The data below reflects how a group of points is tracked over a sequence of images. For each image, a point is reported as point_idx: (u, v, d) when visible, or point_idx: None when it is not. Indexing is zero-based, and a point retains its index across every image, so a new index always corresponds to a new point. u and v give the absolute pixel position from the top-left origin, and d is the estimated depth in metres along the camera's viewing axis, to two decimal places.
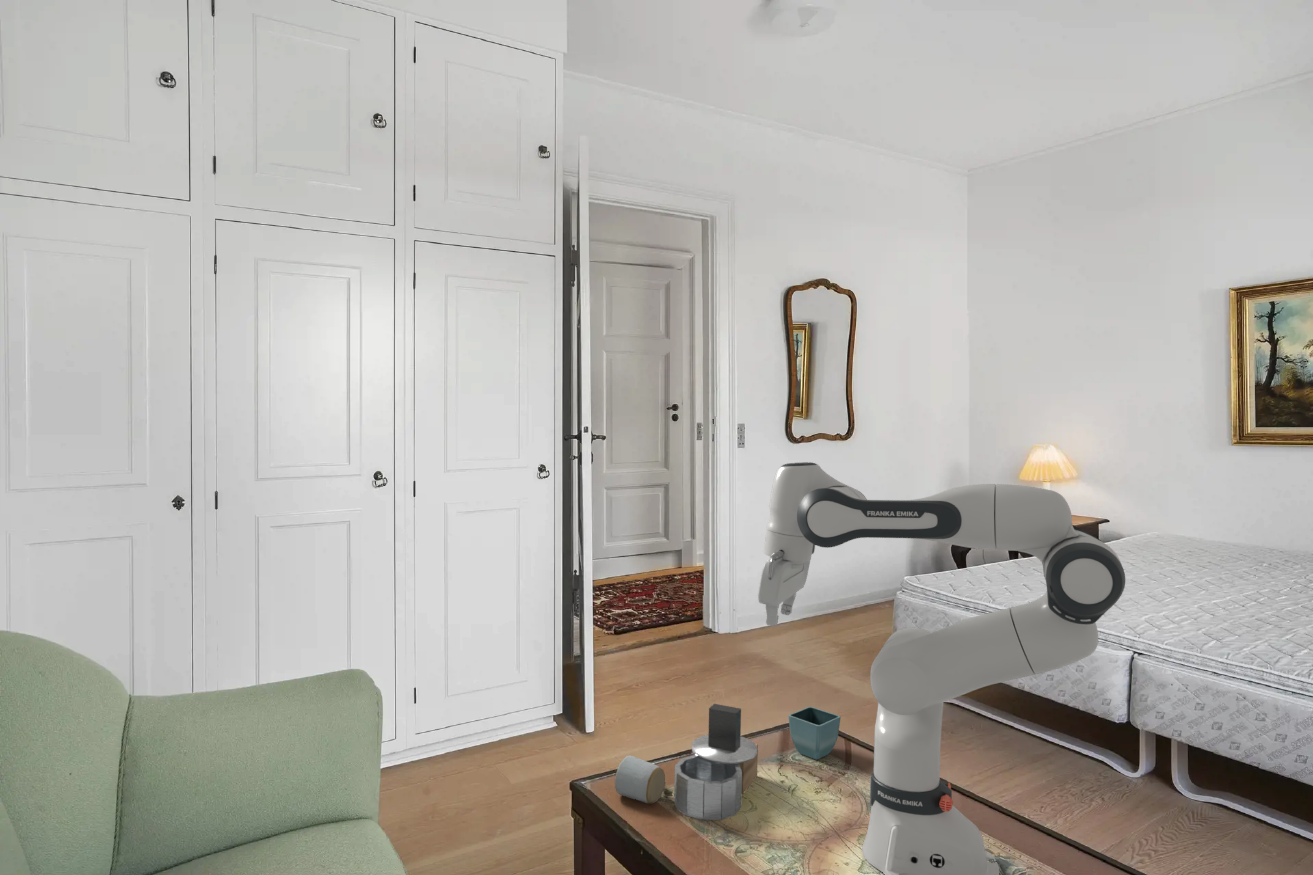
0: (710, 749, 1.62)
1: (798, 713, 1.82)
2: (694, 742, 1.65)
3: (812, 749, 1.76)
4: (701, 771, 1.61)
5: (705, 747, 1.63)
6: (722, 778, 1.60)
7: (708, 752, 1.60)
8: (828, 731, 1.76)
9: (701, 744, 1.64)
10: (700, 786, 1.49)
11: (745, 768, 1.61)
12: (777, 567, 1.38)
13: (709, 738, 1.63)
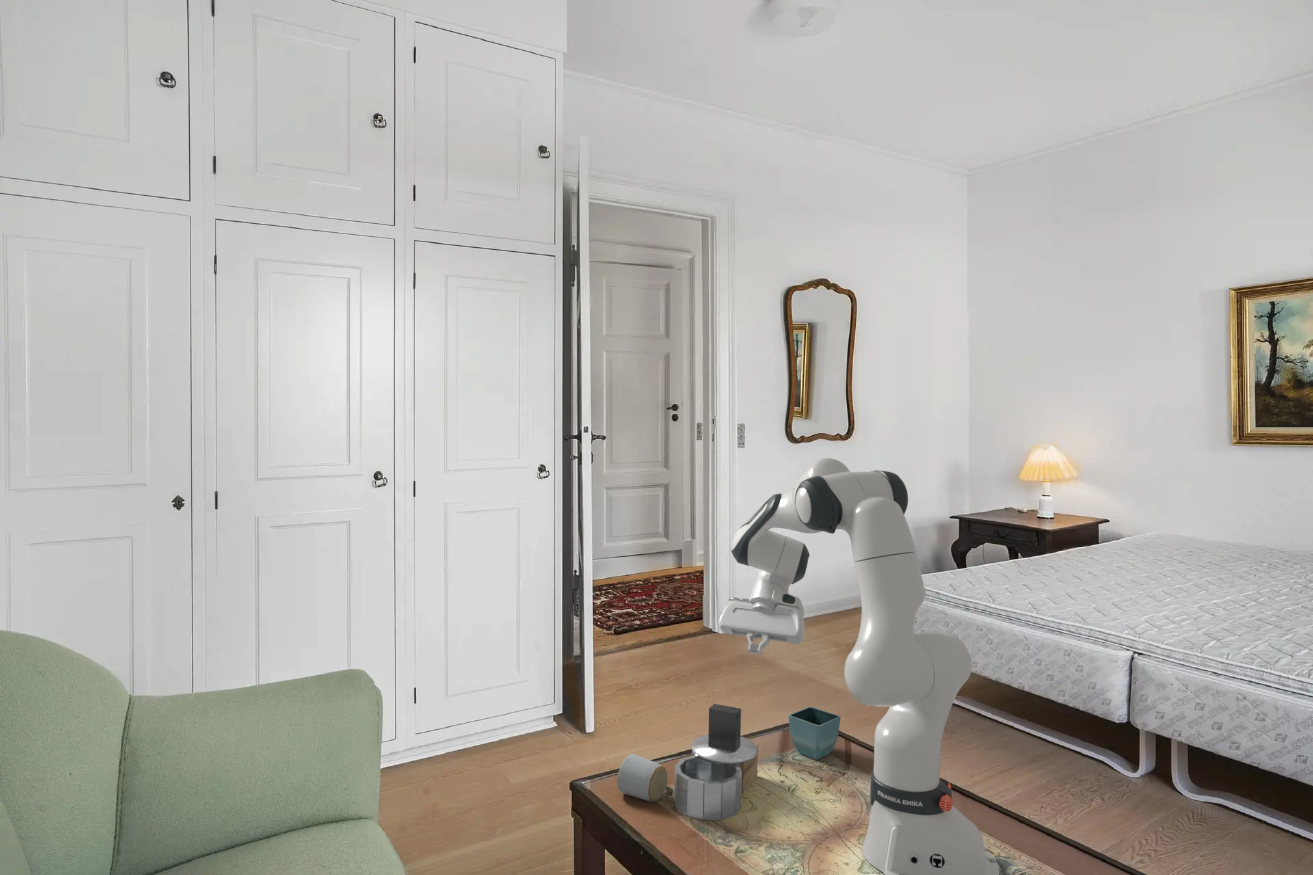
0: (710, 749, 1.62)
1: (798, 713, 1.82)
2: (694, 742, 1.65)
3: (812, 749, 1.76)
4: (701, 771, 1.61)
5: (705, 747, 1.63)
6: (722, 778, 1.60)
7: (708, 752, 1.60)
8: (827, 731, 1.76)
9: (701, 744, 1.64)
10: (700, 786, 1.49)
11: (745, 768, 1.61)
12: None
13: (709, 738, 1.63)
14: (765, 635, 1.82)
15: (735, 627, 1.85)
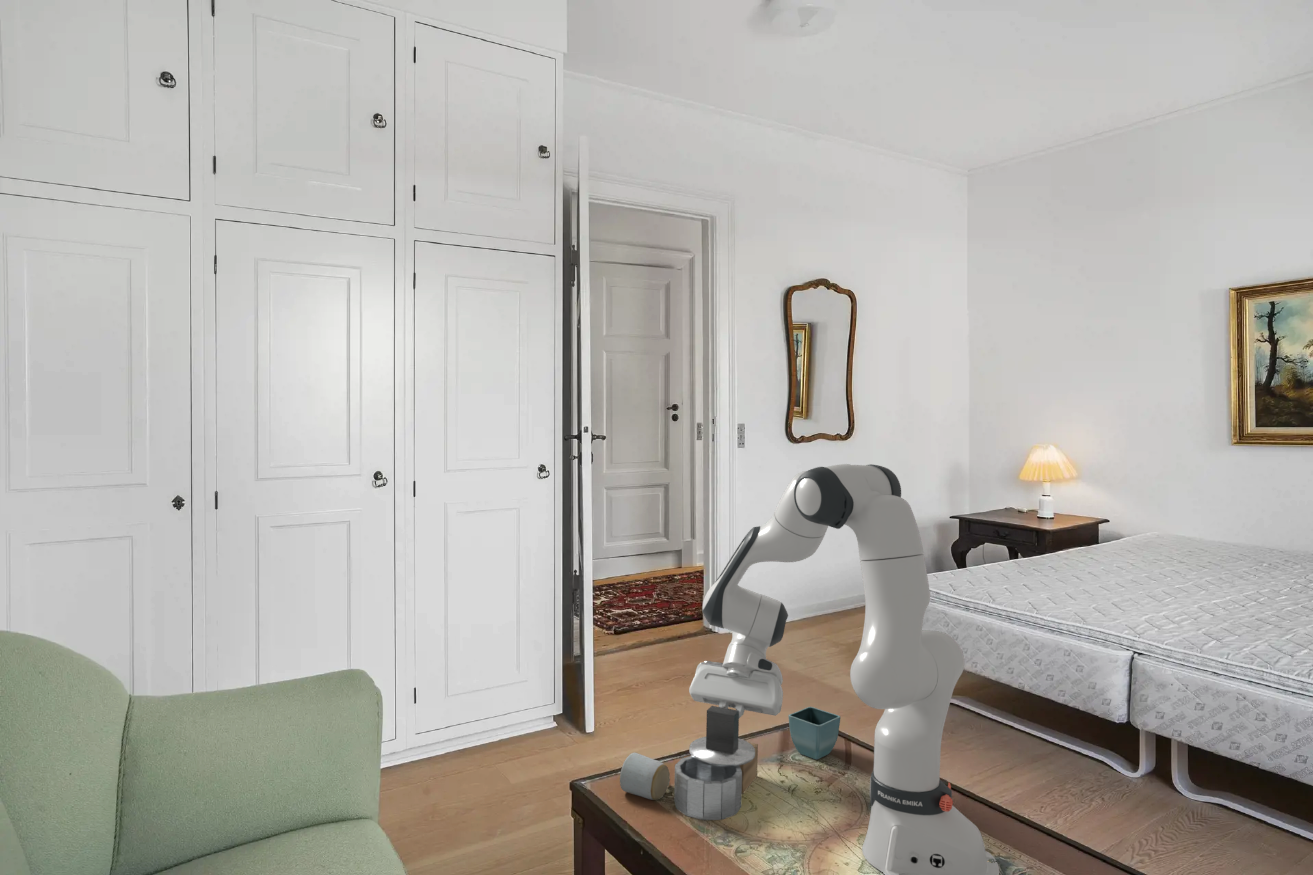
0: (708, 751, 1.61)
1: (798, 713, 1.82)
2: (692, 744, 1.64)
3: (812, 749, 1.76)
4: (701, 771, 1.61)
5: (703, 749, 1.62)
6: (722, 778, 1.60)
7: (705, 754, 1.59)
8: (827, 731, 1.76)
9: (699, 746, 1.63)
10: (700, 786, 1.49)
11: (745, 768, 1.61)
12: None
13: (707, 740, 1.62)
14: (739, 705, 1.65)
15: (707, 696, 1.69)
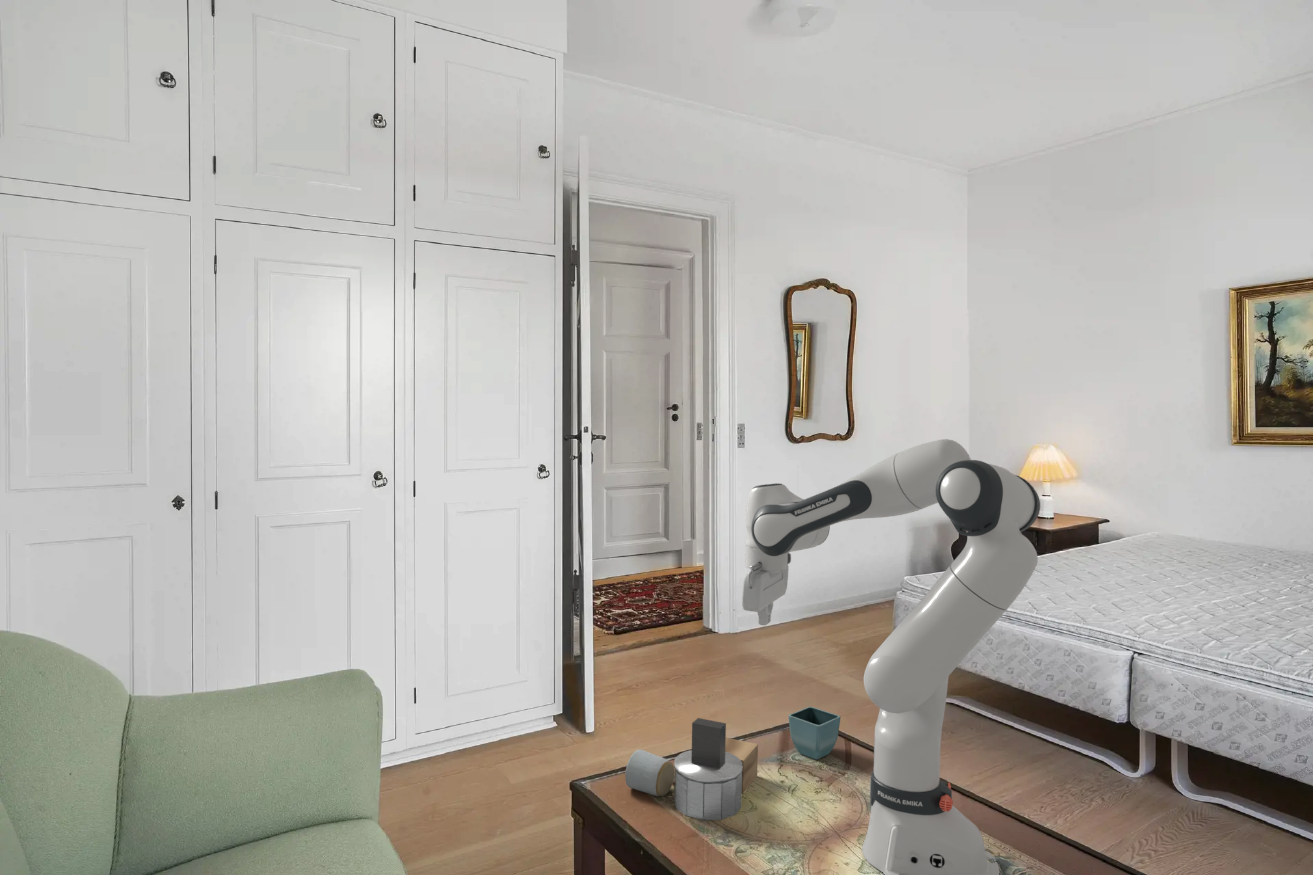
0: (693, 766, 1.54)
1: (798, 713, 1.82)
2: (677, 758, 1.57)
3: (812, 749, 1.76)
4: None
5: (688, 764, 1.55)
6: None
7: (691, 769, 1.52)
8: (827, 731, 1.76)
9: (684, 760, 1.56)
10: (700, 786, 1.49)
11: (745, 768, 1.61)
12: (756, 577, 1.58)
13: (692, 754, 1.55)
14: (772, 602, 1.68)
15: (764, 607, 1.61)
